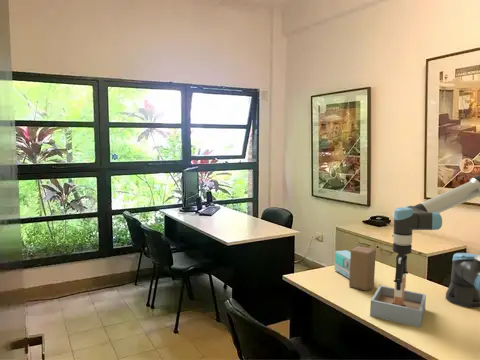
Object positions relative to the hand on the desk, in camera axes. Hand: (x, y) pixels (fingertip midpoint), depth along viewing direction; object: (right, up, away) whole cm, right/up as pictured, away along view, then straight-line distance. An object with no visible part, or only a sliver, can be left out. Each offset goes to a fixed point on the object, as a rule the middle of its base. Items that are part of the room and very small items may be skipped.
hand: (400, 292), depth 170 cm
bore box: (-1, -9, +1) cm, 9 cm away
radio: (-10, -4, +47) cm, 49 cm away
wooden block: (-8, -6, +30) cm, 32 cm away
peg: (-1, -9, +1) cm, 9 cm away
